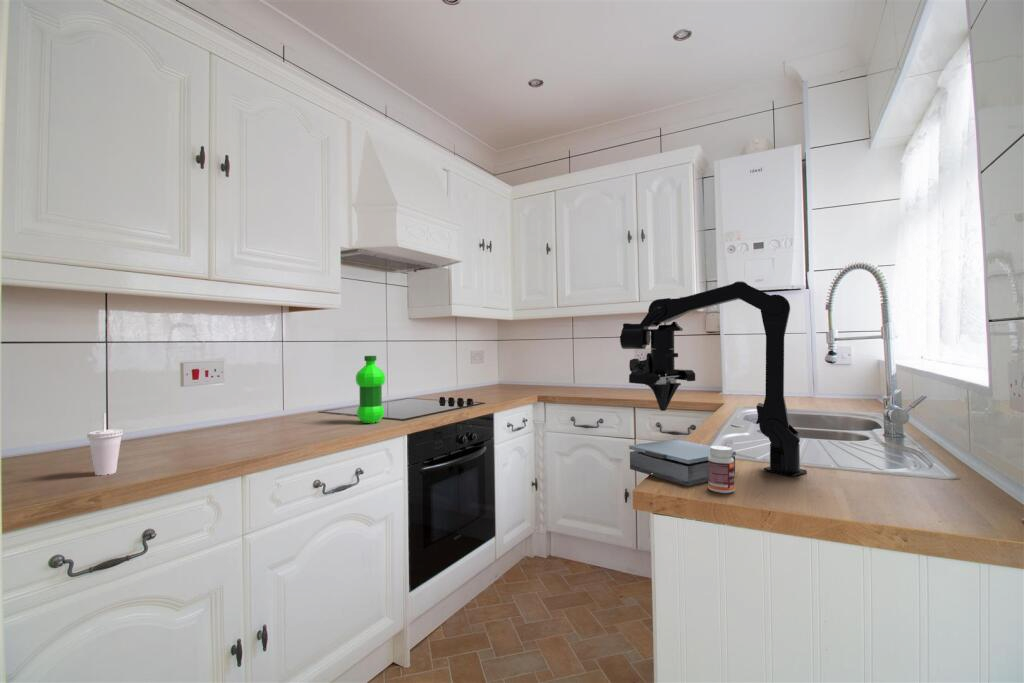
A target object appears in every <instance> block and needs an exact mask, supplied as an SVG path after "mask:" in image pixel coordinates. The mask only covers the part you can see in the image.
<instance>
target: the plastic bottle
mask: <svg viewBox="0 0 1024 683" xmlns="http://www.w3.org/2000/svg"><path fill="white" fill-rule="evenodd" d="M363 358H364V361H365V365H364V366H363V367H362V368H361V369H360V370H358V371H357V372H356V375H355V383H356V384H357V386H358V387H359V406H358V408H357V411H356V415H357V417H358V420H360V421H361V422H364V423H374V424H376V423H375V422H378V423H379V422H380V421H381V420H382V419H383V418H384V416H385V408H384V407H383V405H382V402H383V401H382V399H383V398H382V396H383V395H382V394H383V393H382V387H383V385H384V384H385V383H386V382H385V381H386V374H385V372H384V371H382V370H381V369H380V367H378V366H377V364H376V361H377V355H364V357H363ZM364 423H363V424H364Z"/></svg>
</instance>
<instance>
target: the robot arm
mask: <svg viewBox="0 0 1024 683" xmlns="http://www.w3.org/2000/svg"><path fill="white" fill-rule="evenodd" d="M737 300H741V301H742V302H745V303H746V304H749V305H751V306H753V307H754V308H756V309H758V310H759V311H760V314H761V320H762V325H763V329H764V333H765V397H764V400H763V403H762V402H758V403H757V405H756V406H755V407H756V413H757V420H756V422H755V425H758V426H759V430H760V432H761V433H762V435H764V436H765V437H766V438H768V439H769V442H770V443H769V466H767V467H763V470H764V471H765V472H770V473H774V474H778V475H783V476H787V477H795V476H800V475H803V474H806V473H808V470H807V469H802V468H801V465H800V464H801V463H800V462H801V461H800V460H801V459H800V458H801V457H800V452H801V451H800V439H801V438H800V437H801V434H800V433H799V432H798V430H796V428H794V427H793V426H792V425H791V423H790V419H789V418H790V417H789V414H788V409H787V404H786V400H785V399H786V398H785V335H786V331H787V327H788V322H789V317H790V313H791V306H790V302H789V300H788V299H787V298H786V297H785V296H783V295H780V294H771V295H770V294H768V293H766V292H764V291H762V290H759V289H758V288H756V287H753V286H751V285H749V284H748V283H747V282H745V281H743V280H739V281H735V282H733V283H731V284H727V285H724V286H719V287H715V288H712V289H708V290H706V291H702V292H698V293H695V294H691V295H687V296H680V297H669V298H668V297H667V298H657V299H655V300H653V301H652V302H651V303H650V304H649V306H648V308H647V309H648V310H647V311H648V312H647V314H646V315H645V316H644V318H643V319H642V320H641V322H640V323H622V329H621V333H620V336H619V342H620V346H621V349H622V350H646V348H647V346H649V345H650V352H647V353H646V357H645V358H646V359H644V360H640V359H639V358H632V359H630V360H629V364H628V365H629V371H630V374H628V384H638V385H639V384H640V385H645V386H648V388H650V389H651V390H652V392H653V394H654V396H655V399H656V403H657V405H658V408H659V410H660V411H661V412H663V411H664V412H666V411H667V408H668V406H669V404H670V403H671V400H672V399H673V397H674V395H675V393H676V391H677V390H678V388H679V386H681V385H682V384H681V382H677V380H681V381H686V382H694V381H695V382H696V373H695V372H694V370H692V369H682V368H681V369H680V368H679V369H678V368H675V358H679V353H678V352H675V332H682V331H683V330H684V329H683V328H682V327H681V325H679V324H678V322H677V321H675V320H677V319H680V318H681V317H683V316H685V315H686V314H687V315H688V314H689V313H691V312H695V311H699V310H702V309H706V308H710V307H714V306H718V305H721V304H726V303H729V302H733V301H734V302H735V301H737ZM672 321H673V322H672ZM670 322H671V324H668V323H670ZM663 323H667V324H663ZM656 327H657V328H656ZM650 328H651V329H650ZM653 328H655V329H653Z"/></svg>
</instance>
